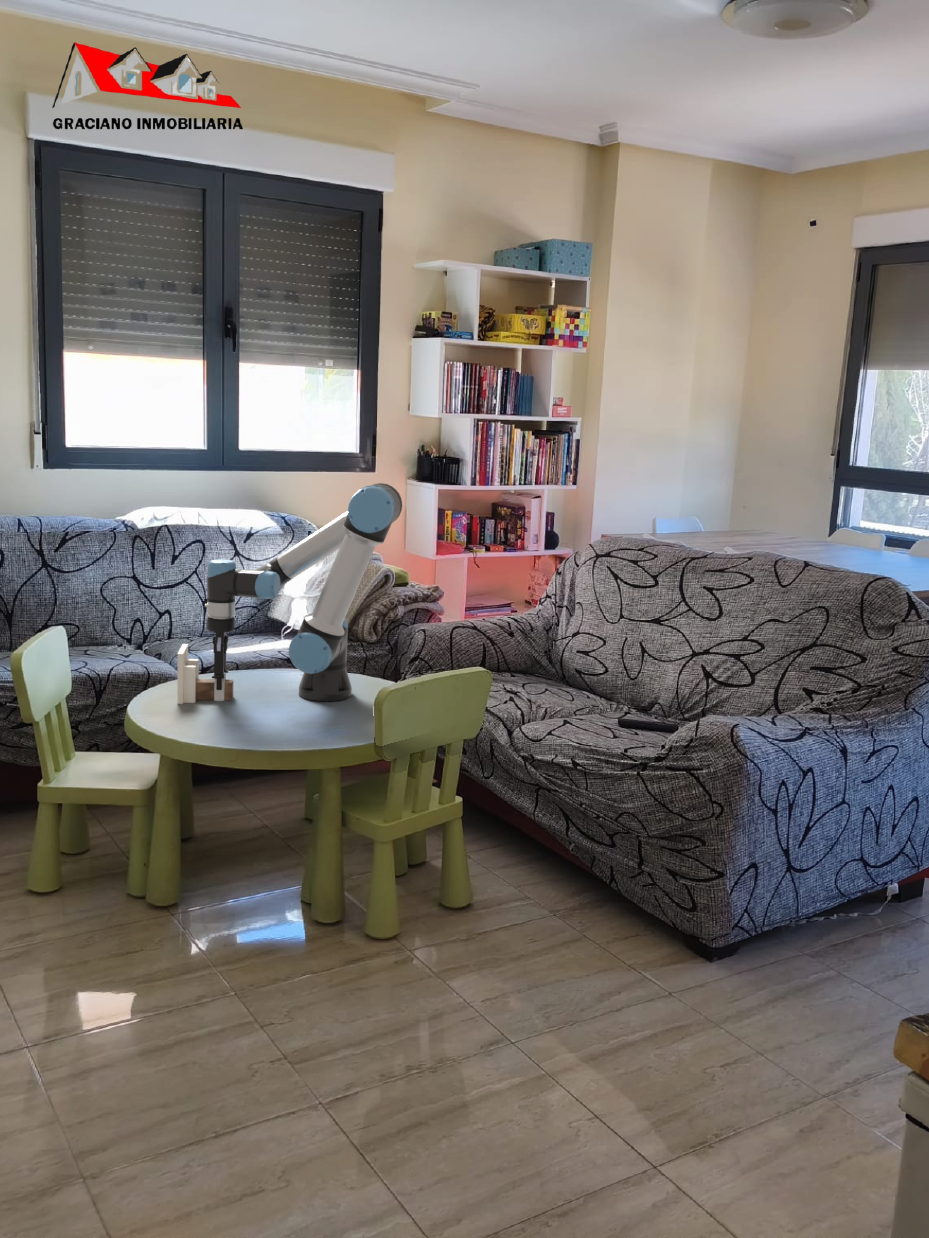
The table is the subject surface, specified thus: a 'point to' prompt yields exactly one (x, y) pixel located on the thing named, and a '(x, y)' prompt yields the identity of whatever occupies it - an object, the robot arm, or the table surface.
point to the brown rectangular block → (212, 689)
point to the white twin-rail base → (187, 676)
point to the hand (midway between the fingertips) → (219, 698)
